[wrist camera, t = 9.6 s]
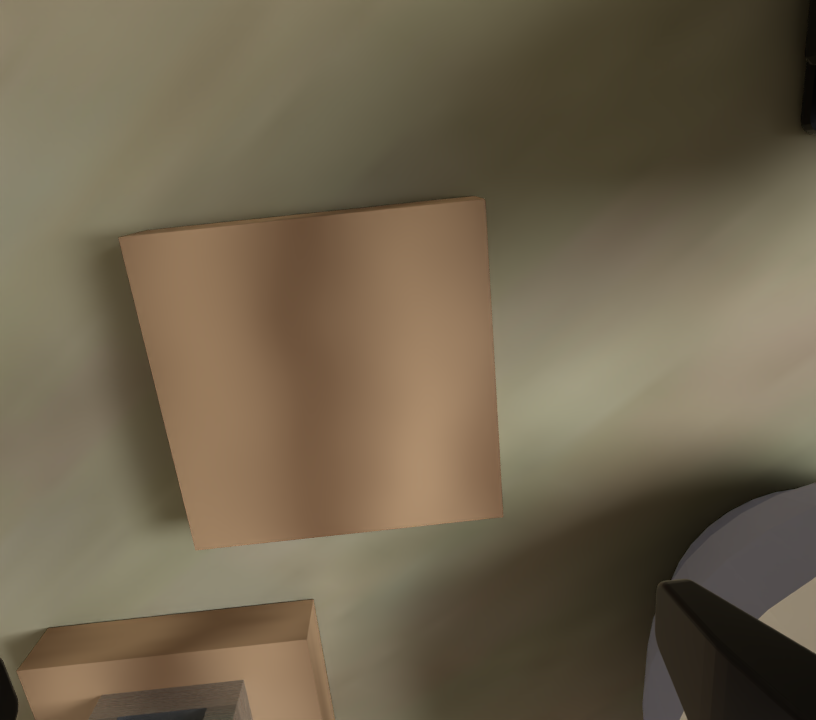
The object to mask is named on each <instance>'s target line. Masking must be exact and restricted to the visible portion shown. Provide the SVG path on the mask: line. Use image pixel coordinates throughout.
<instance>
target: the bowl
mask: <svg viewBox="0 0 816 720" xmlns="http://www.w3.org/2000/svg"><path fill="white" fill-rule="evenodd" d="M677 579H690V580H692V581H694V582H696V583H698V584H699V585H701V586H703V587H704V588H706V589H708V590H709V591H711V592H713V593H714V594H716V595H718V596H719V597H721V598H723V599H725V600H726V601H728V602H730V603H731V604H733V605H735V606H736V607H738V608H740V609H741V610H743V611H745V612H746V613H748V614H750V615H752V616H753V617H755V618H757V619H758V620H760V621H762V622H763V623H765V624H767V625H768V626H770V627H772V628H773V629H775V630H777V631H779V632H780V633H782V634H784V635H785V636H787V637H789V638H790V639H792V640H794V641H795V642H797V643H799V644H800V645H802V646H804V647H806V648H807V649H809V650H811V651H812V652H814V653H816V483H812V484H809V485H806V486H803V487H800V488H797V489H792V490H786V491H779V492H774V493H771V494H768V495H765V496H762V497H759V498H756V499H753V500H750V501H748V502H746V503H745V504H743V505H741V506H739V507H737V508H735V509H733V510H731V511H729V512H728V513H726V514H725V515H723V516H722V517H721V518H719V519H718V520H717V521H715V522H714V523H713V524H711V525H710V526H708V528H707V529H706V530H705V531H704V532H703V533H702V534H701V535H700V536H699V537H698V538H697V539H696V540H695V541H694V542H693V543H692V544H691V545H690V547H689V548H688V550H687V551H686V553H685V554H684V556H683V557H682V558H681V560H680V561H679V563H678V566H677V568H676V570H675V572H674V575H673V577H672V579H671V580H677ZM643 720H687V717H686V715H685V712H684V710H683V707H682V705H681V702H680V700H679V698H678V695H677V693H676V690H675V688H674V685H673V683H672V680H671V678H670V676H669V673H668V671H667V668H666V666H665V663H664V661H663V658H662V656H661V653H660V651H659V648H658V645H657V642H656V637H655V615H654V618H653V622H652V627H651V632H650V637H649V642H648V647H647V659H646V670H645V682H644V693H643Z"/></svg>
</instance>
